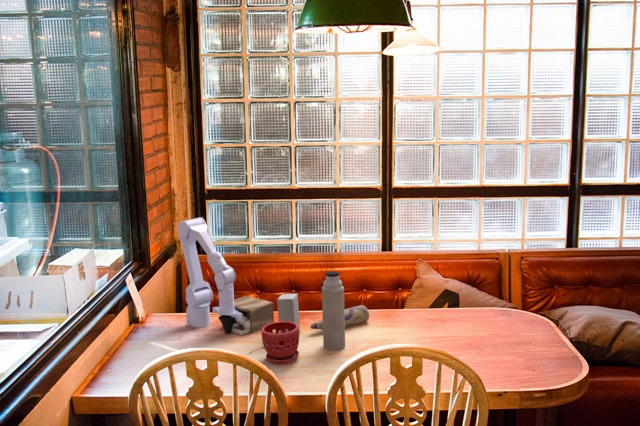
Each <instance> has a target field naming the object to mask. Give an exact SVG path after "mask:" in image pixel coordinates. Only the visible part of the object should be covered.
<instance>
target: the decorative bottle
mask: <svg viewBox="0 0 640 426" xmlns="http://www.w3.org/2000/svg"><path fill="white" fill-rule="evenodd" d="M344 315H345V328H347V327H349V326H352V325H353V326H354V325H356V324H361V323H365V322H368V321H369V319H370V312H369V310H368V308H367V307H366V306H365V305H362V304H360V305H357V306H352V307H349V308H346V309H345V308H344ZM310 328H311V329H312V330H322V331H323V318H322V319H320V320H318V321H316V322H314V323H312V324H311V325H310Z"/></svg>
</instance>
